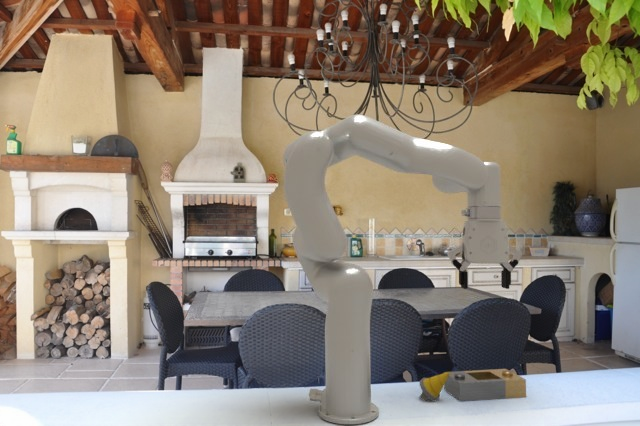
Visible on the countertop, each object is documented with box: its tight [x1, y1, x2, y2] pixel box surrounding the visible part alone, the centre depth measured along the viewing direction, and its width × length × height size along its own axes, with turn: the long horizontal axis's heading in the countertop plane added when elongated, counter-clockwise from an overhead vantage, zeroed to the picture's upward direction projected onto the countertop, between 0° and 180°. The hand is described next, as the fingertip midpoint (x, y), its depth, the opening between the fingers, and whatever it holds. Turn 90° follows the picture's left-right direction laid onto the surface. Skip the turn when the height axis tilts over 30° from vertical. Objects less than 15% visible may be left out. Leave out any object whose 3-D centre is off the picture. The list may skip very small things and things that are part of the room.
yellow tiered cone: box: [419, 371, 451, 402], centre depth 115 cm, size 5×5×10 cm
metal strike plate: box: [443, 368, 527, 402], centre depth 119 cm, size 16×9×5 cm, turn 99°
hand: (484, 288), depth 118 cm, fingers open, 9 cm apart
